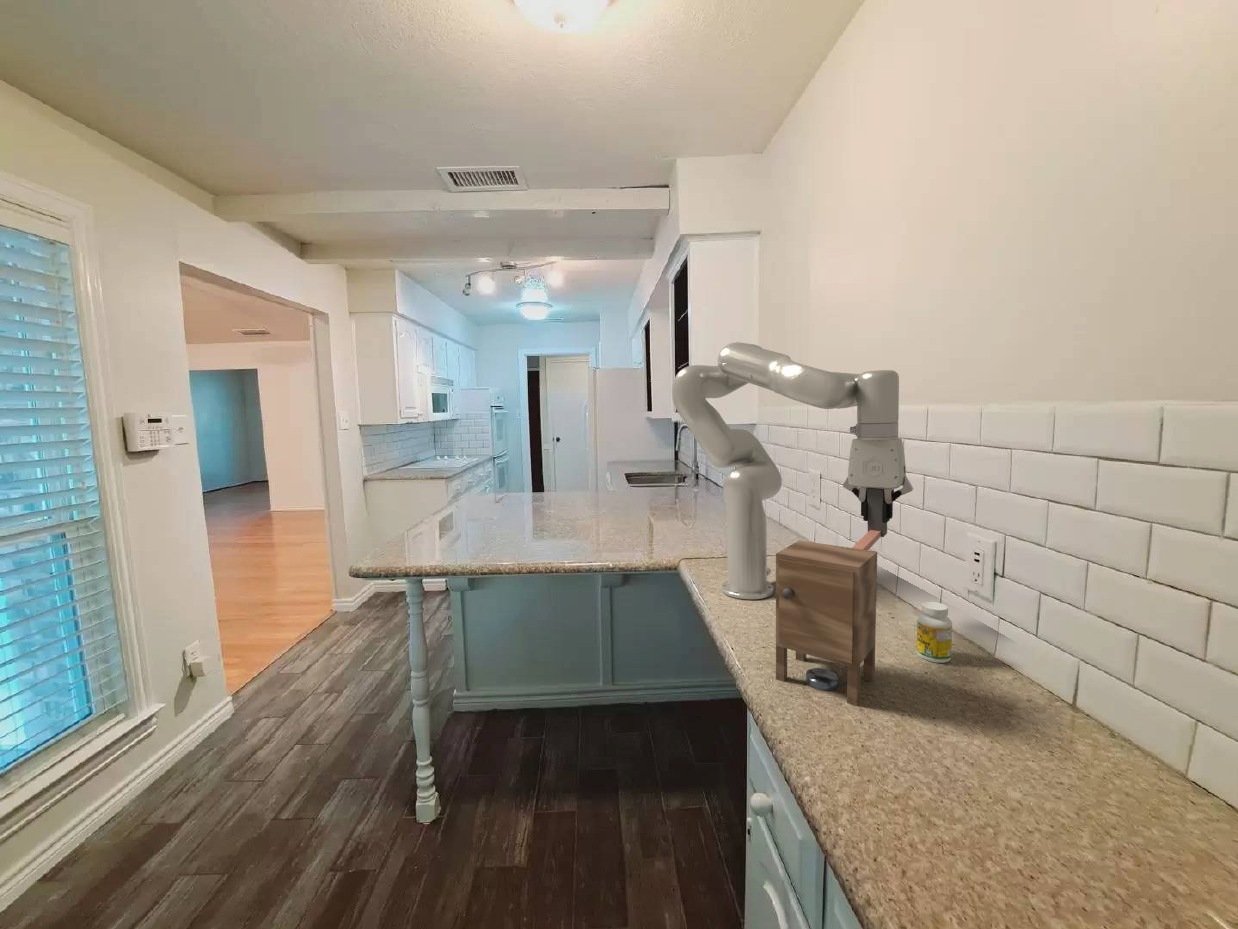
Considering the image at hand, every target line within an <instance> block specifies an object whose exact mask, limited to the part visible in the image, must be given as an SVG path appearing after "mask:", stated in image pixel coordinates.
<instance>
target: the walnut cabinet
mask: <svg viewBox="0 0 1238 929" xmlns="http://www.w3.org/2000/svg"><path fill="white" fill-rule="evenodd" d="M877 580H878V551H875V550H870V549H869V550H862V549H855V548H852V547H846V546H840V545H834V544H826V543H819V542H813V541H805V540H798V541H795V542H794V543H792V544H790V545H789V546H787V547H784V548H782V549H781V550H780V551H778V552H776V553H775V680H778V681H781V682H785V681H786V680H787V679H788V650H789V651H790V650H791V651H795V660H798V661H799V662H804V661H805V660H807V655H808V656H811V657H815V658H819V659H822V660H825V661H829V662H831V663H835V664H839V665H842V666H846V667H847V678H846V680H847V684H846V685H847V686H846V687H847V690H846V703H847V704H851V705H852V706H857V705H858V704H859V703H860V687H861V685H860V684H861V683H860V680H861V678H860V677H861V676H860V675H861V674H860V673H861V665H862V663H863V666H862V667H863V669H862V670H863V674H862V675H863V677H862V678H863V680H865V681H868V682H871V683H873V681H874V680H875V675H876V674H875V673H876V672H875V670H876V668H875V666H876V632H877V631H876V630H877V629H876V626H877V625H876V624H877V623H876V622H877V587H878V586H877V585H878V584H877V583H878V581H877Z"/></svg>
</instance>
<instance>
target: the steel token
mask: <svg viewBox="0 0 1238 929" xmlns="http://www.w3.org/2000/svg"><path fill="white" fill-rule="evenodd" d="M805 682H806V684H807V685H808V686H809V687H810V688H812V689H814V690H818V691H821V692H823V691H824V692H830V691H835V690H837V689H838V686H839V677H838V675H837V674H836V673H835V672H833V671H831V670H829V669H825V668H820V667H817V668H816V667H815V668H810V669H807V670H806V673H805Z"/></svg>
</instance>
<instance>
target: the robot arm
mask: <svg viewBox="0 0 1238 929" xmlns="http://www.w3.org/2000/svg"><path fill="white" fill-rule="evenodd" d="M748 384H751V385H755V386H757V387H759V388H760V387H761V388H763V389H767V390H770V391H773V392H774V393H776V394H778V395H781V396H782V397H786V398H788V399H790V400H793V401H796V402H799V403H803V404H805V405H809V406H812V407H815V408H819V409H824V410H834V409H838V410H839V409H846V408H847V409H848V408H853V407H856V424H855V425H854V426H850V427H849V433H850V434H855V437H856V438H853V439H852V441H851V445H850V451H849V457H848V458H849V459H848V468H847V476H846V479H845V480H844V483H843V484H842V487H843V488H844V489H846V490H847V491H849V492H852V494H853V495H855V496H856V498H857V499H858V501H859V502H860V516H862V518H863V519H862V520H863V522H868V503H867V488H877V489H884V493H885V500H884V504H882V522H883V523H887V524H888V523H889V522H890V521H891V520H890V519H893V514H894V512H893V510H894V509H893V508H894V507H893V506H894V502H895V501H896V500H897V499H898V498H900V497H901V496H903V495H907V494H908V493H909V494H910V493H911V492H913V491H914V487H913V485H912V483H911V482H910V480H909V479H908V477H907V468H906V457H905V456H906V455H905V449H904V442H903V440H902V438H901V437H900V438H899V413H900V412H899V410H900V408H899V407H900V406H899V404H900V402H899V401H900V398H899V397H900V394H899V393H900V385H899V384H900V375H899V374H898V372H896V371H895V370H892V369H882V370H870V371H864V372H861V373H848V372H838V371H829V370H824V369H821V368H820V369H819V368H816V367H813V366H809V365H806V364H802V363H800V362H796V361H794V360H792V359H791V357H790V356H789V355H787V354H784V353H782V352H776V351H773V350H769V349H765V348H763V347H761V346H760V345H758V344H755V343H754V344H753V343H747V342H739V341H738V342H732V343H728V344H726V345H725V346H723V348H722V349H720V352H719V353H718V357H717V365H704V364H694V365H688V366H686V367H684V368H683V367H682V369H680V370H679V371H678V372H677V374H676V375H675V377H674V379H673V382H672V387H671V388H672V389H671V393H672V394H671V397H672V401H673V404H674V408H675V409H676V412H677V413H678V414H679V416H680V417H681V419H682V420H683V422H684V423H685V425H686V427H688V428H689V430H690V432H691V433H692V435H693V437H694V439H695V440H696V442H697V444H699V446H700V448H701V449H702V450H701V451H702V452H703V453H704V454H705V456H706V458H707V459H708V461H709V462H710V463H711V464H712V465H713V466H714V467H717V468H721V469H726V468H731V467H735V468H734V469H732V470H730V471H729V472H728V473H727V475H726V476H725V478H724V480H723V483H722V492H723V500H724V505H725V511H726V513H725V514H726V537H727V538H726V539H727V540H726V542H727V545H726V546H727V547H726V548H727V550H726V551H727V552H726V554H727V580H726V581H724V582H722V584H721V591H722V593H724V594H725V595H727V596H729V597H730V598H731V597H732V598H734V599H735V598H736V599H741V600H763V599H766V598H768V597H770V596H772V595H773V593H774V586H773V585H772V584H771V583H769V582H768V578H767V577H768V576H770V575H771V574H772V570H771V568H770V567H768V566H767V564H768V560H767V556H768V555H767V554H768V552H767V551H768V550H767V544H768V543H767V539H768V538H767V534H768V533H767V532H768V531H767V517H766V516H767V515H766V512H765V508H764V503H763V501H765V500H768V499H770V498H773V497H774V496H776V495H777V494H778V493H779V492H780V491H781V488H782V484H783V481H782V480H783V479H782V475H781V473H780V470H779V468H778V466H776V463H775V462H774V460H773V459H772V458H771V457H770V455H769V454H768V452H767V451H766V449H765V447H764V446H763V445H762V443H761V442H760V441H759V439H758V437H756V436H755V435H754V434H753V433H751V431H749V430H746V429H743V428H742V429H741V428H735V429H734V428H730V426H729V425H728V424H727V423H726V422H725V420H724V419H723V417H722V416H721V414H720V412H719V411H718V410H717V409H716V408H715V407H714V406H713V405H712V404H711V403H709V402H708V400H707V399H720V398H723V397H725V396H727V395H730V394H731V393H733V392H735V391H737V390H739V389H740V388H742V387H744V386H746V385H748ZM901 486H902V488H901ZM899 488H900V489H899ZM896 489H897V490H896ZM895 490H896V491H895Z"/></svg>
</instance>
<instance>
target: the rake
mask: <svg viewBox="0 0 1238 929" xmlns="http://www.w3.org/2000/svg"><path fill="white" fill-rule="evenodd" d="M884 500H885V493H884V489H877V488H867V503H868V521H867V532H866V533H865V535H863V536H862V537H861V539H859V540H858V541H857V542H856V543H855V544H854V545H853V546H852V547H851V548H855V549H862V550H869V551H870V549H871V548H872V547H873V546H874V545H875V544H876V542H878V541H879V539H881V538H884V537H885V536H886V535H887V534H888V522H887V523H883V522H882V504H884Z"/></svg>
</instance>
